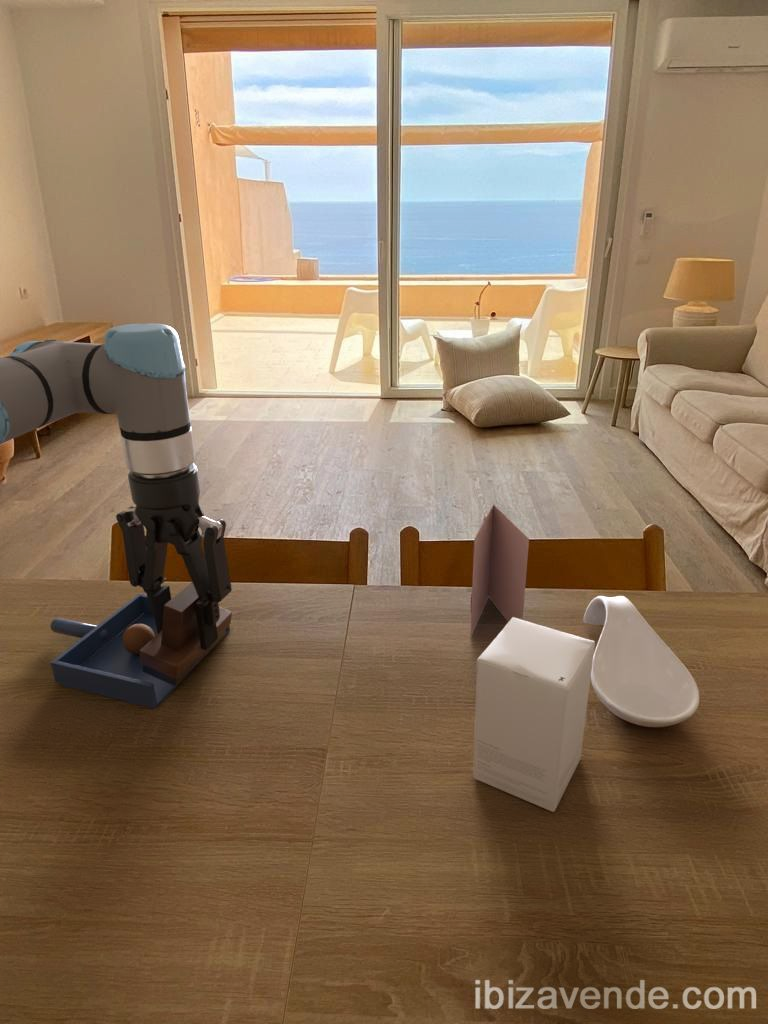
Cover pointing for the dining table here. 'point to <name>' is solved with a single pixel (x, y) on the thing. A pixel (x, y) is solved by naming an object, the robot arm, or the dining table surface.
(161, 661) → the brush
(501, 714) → the white product box
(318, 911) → the dining table surface
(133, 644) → the cork ball
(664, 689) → the spoon rest
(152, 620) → the dustpan
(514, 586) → the greeting card
